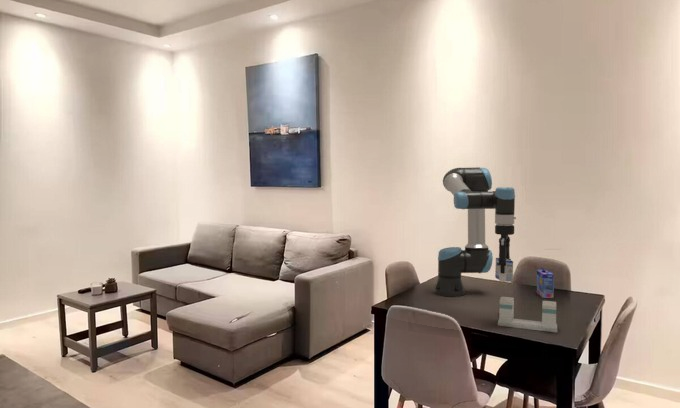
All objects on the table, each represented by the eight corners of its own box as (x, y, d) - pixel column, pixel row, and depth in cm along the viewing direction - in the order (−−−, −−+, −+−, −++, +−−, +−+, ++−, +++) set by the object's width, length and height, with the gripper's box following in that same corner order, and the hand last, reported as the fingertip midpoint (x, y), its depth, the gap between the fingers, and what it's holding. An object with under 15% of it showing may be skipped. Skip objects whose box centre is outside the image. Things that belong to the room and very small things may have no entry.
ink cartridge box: (535, 292, 238) (536, 265, 237) (547, 293, 238) (547, 265, 237) (542, 298, 229) (542, 269, 227) (553, 298, 228) (554, 269, 227)
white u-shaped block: (497, 325, 189) (498, 300, 189) (499, 319, 197) (500, 296, 196) (557, 332, 180) (557, 307, 179) (556, 326, 187) (557, 301, 187)
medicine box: (495, 277, 196) (495, 257, 196) (505, 277, 197) (505, 257, 196) (502, 282, 189) (502, 260, 188) (513, 281, 189) (513, 260, 188)
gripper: (511, 227, 180) (510, 284, 181) (516, 222, 199) (516, 274, 201) (491, 226, 183) (490, 283, 185) (498, 222, 203) (498, 273, 204)
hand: (504, 278), depth 193 cm, fingers closed on medicine box, 9 cm apart
